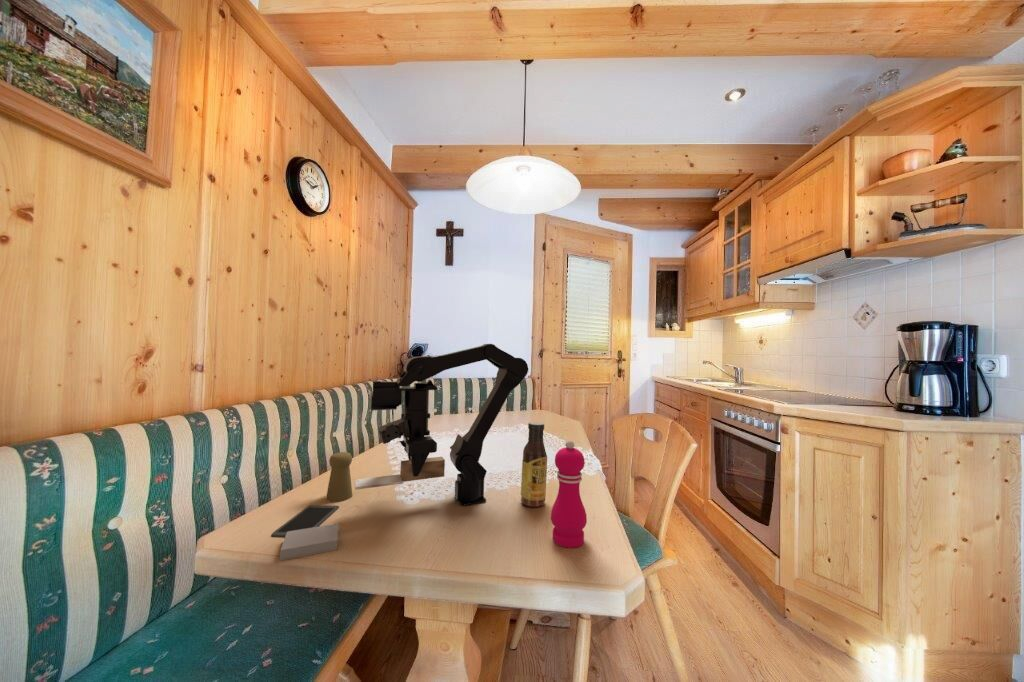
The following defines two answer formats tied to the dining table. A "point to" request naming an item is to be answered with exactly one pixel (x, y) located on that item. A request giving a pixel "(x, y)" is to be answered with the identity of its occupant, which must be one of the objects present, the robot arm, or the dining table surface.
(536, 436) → the sauce bottle
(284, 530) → the cell phone
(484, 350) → the robot arm
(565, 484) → the pepper mill
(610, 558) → the dining table surface
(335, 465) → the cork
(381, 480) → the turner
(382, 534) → the dining table surface
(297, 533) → the tile
